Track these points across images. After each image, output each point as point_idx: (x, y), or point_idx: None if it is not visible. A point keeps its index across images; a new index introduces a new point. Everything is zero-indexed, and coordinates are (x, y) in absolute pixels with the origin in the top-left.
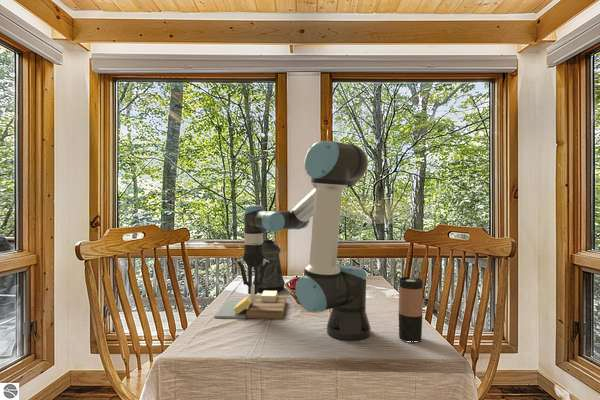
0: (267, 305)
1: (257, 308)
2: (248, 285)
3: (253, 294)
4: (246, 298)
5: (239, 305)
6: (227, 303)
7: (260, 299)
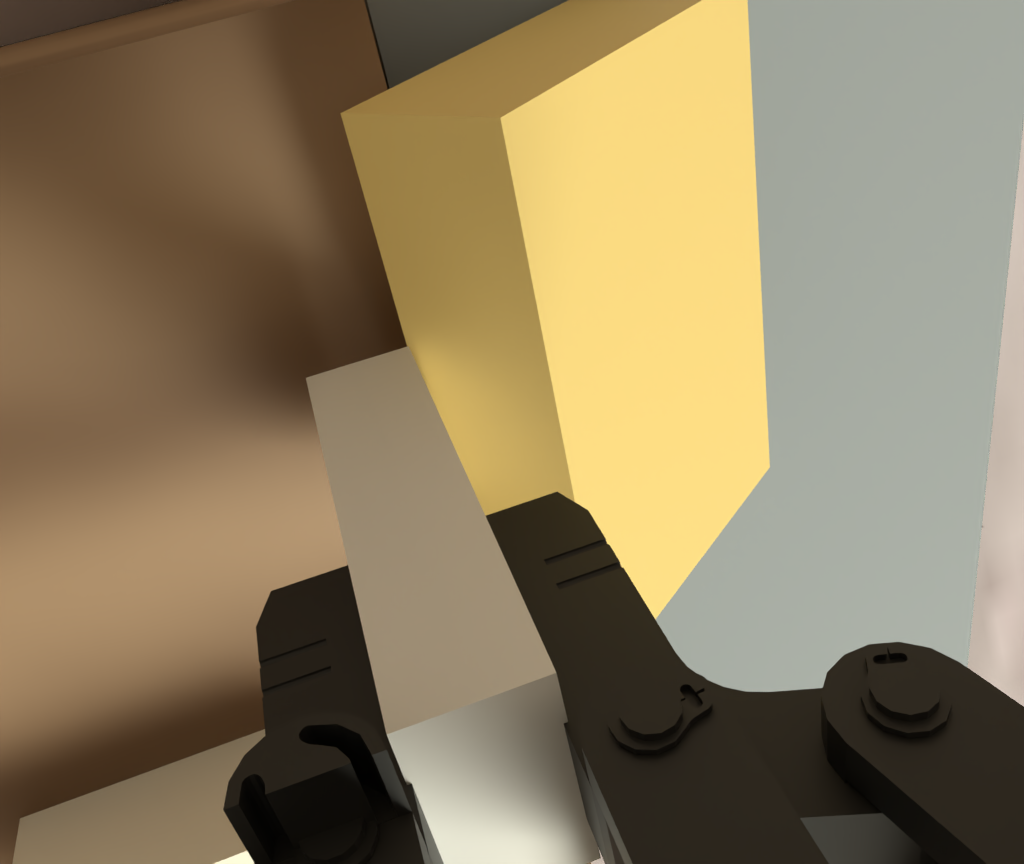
0: (33, 559)
1: (136, 239)
2: (686, 678)
3: (370, 508)
4: (574, 400)
5: (632, 33)
6: (940, 544)
7: None
